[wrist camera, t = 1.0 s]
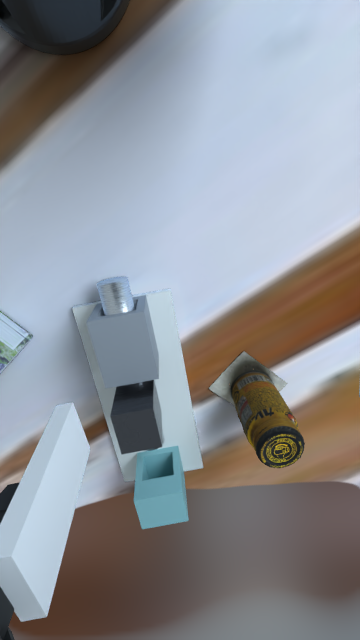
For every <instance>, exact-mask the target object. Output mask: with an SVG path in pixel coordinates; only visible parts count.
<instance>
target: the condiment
mask: <svg viewBox="0 0 360 640" xmlns="http://www.w3.org/2000/svg"><path fill="white" fill-rule="evenodd" d="M253 369H254V370H253ZM229 383H230V388H229ZM286 384H287V383H286V382H285V381H283V380H282V379H281V378H279V377H278V376H277V375H275V374H274V373H273V372H272V371H270V370H269V369H267V368H266V367H265V366H263V365H262V364H260V363H259V362H258V361H256V360H255V359H254V358H252V357H251V356H250V355H248V354H247V353H246V352H243V353H242V354H241V355H240V356H238V357H237V358H236V359H235V361H234V362H233V363H232V364H231V365H230V366H229V367H228V368H227V369H226V370H225V371H224V372H223V373H222V374H221V375H220V377H219V378H218V379H217V380H216V381H215V382H214V383H213V384H212V385H211V386H210V388H209V389H210V390H211V391H213V392H214V393H216V394H217V395H218V396H220V397H222V398H223V399H224V400H226V401H228V402H229V403H231V404H232V405H234V406H235V408H236V411H237V413H238V417H239V419H240V422H241V424H242V427H243V430H244V433H245V435H246V437H247V439H248V441H249V443H250V444H251V445H252V446H253V447H254V449H255V451H256V454H257V456H258V458H259V459H260V461H261V462H262V463H264V464H265V465H267V466H269V467H273V468H283V467H287V466H289V465H291V464H293V463H295V462H296V461H297V460H298V459H299V458H301V455H302V453H303V451H304V444H305V443H304V440H303V437H302V435H301V434H300V432H299V430H298V425H297V421H296V419H295V417H294V416H293V414H292V413H291V411H290V409H289V408H288V406H287V405H286V403H285V401H284V400H283V398H282V396H281V395H280V393H279V391H281V389H283V388H284V387H285V386H286Z"/></svg>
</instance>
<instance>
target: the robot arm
mask: <svg viewBox="0 0 360 640" xmlns="http://www.w3.org/2000/svg"><path fill="white" fill-rule="evenodd" d="M129 1H130V0H0V26H1V27H2V28H3V29H4V30H5V31H7V32H8V33H9V34H10V35H11V36H13V37H14V38H15V39H17V40H18V41H20V42H22V43H23V44H25V45H27V46H29V47H31V48H33V49H36V50H39V51H42V52H46V53H50V54H59V55H65V54H74V53H79V52H82V51H85V50H87V49H90V48H92V47H94V46H95V45H97V44H98V43H100V42H101V41H103V40H104V39H105V38H106V37H107V36H108V35H109V34H110V33H111V32H112V31H113V30H114V29H115V27H116V26H117V25H118V23H119V22H120V20H121V18H122V17H123V15H124V13H125V11H126V9H127V6H128V4H129ZM359 397H360V389H359ZM89 452H90V446H89V444H88V441H87V438H86V436H85V433H84V430H83V428H82V425H81V422H80V420H79V417H78V414H77V412H76V409H75V406H74V404H73V402H71V403H66V404H61V405H56V407H55V409H54V411H53V413H52V415H51V418H50V420H49V422H48V424H47V426H46V428H45V430H44V432H43V435H42V437H41V439H40V441H39V443H38V445H37V447H36V449H35V452H34V454H33V456H32V458H31V460H30V462H29V464H28V466H27V468H26V471H25V473H24V475H23V477H22V479H21V481H20V483H15V484H10V485H7V487H6V488H5V489H4V490H3V491H2V492H1V493H0V640H14V637H13V634H12V632H11V630H10V629H9V627H8V626H9V623H10V620H11V617H12V614H13V611H15V613H16V614H17V616H18V617H19V619H20V621H27V620H32V619H38V618H43V617H47V614H48V611H49V607H50V603H51V599H52V595H53V591H54V587H55V583H56V580H57V576H58V572H59V568H60V564H61V560H62V557H63V552H64V549H65V545H66V541H67V537H68V533H69V529H70V525H71V522H72V518H73V514H74V510H75V506H76V503H77V499H78V495H79V491H80V487H81V483H82V479H83V476H84V472H85V468H86V464H87V460H88V456H89Z"/></svg>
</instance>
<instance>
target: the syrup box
mask: <svg viewBox="0 0 360 640" xmlns="http://www.w3.org/2000/svg"><path fill="white" fill-rule="evenodd" d="M32 337H33V335H32V334H30V333H29V332H28V331H26V330H25V329H23V328H22V327H21V326H19V325H18V324H17V323H15V322H14V321H13V320H11V319H10V318H9V317H7V316H6V315H5V314H3V313H2V312H1V311H0V374H1V373H2V372H3V371H4V369H5V368H6V367H7V366H8V365H9V364H10V363H11V362H12V360H13V359H14V358H15V357H16V356H17V355H18V354H19V353H20V351H21V350H22V349H23V348H24V347H25V346H26V345H27V343H28V342H29V341H30V340H31V339H32Z"/></svg>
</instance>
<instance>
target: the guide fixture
mask: <svg viewBox="0 0 360 640" xmlns="http://www.w3.org/2000/svg"><path fill="white" fill-rule="evenodd" d="M132 298H133V303H134V307H135V310H134V311H128V312H123V313H117V314H112V315H106V316H105V314H104V311H103V307H102V303H101V301H98V302H92V303H87V304H81V305H76V306H73V308H72V310H73V313H74V317H75V320H76V323H77V326H78V330H79V333H80V336H81V340H82V343H83V346H84V349H85V353H86V356H87V359H88V363H89V366H90V369H91V373H92V376H93V379H94V382H95V386H96V389H97V392H98V396H99V399H100V402H101V406H102V409H103V412H104V415H105V419H106V422H107V425H108V429H109V432H110V435H111V438H112V442H113V445H114V448H115V452H116V455H117V458H118V462H119V465H120V468H121V471H122V475H123V478H124V481H125V482H129V481H135V491H134V504H135V507H136V510H137V514H138V516H139V520H140V523H141V527H142V529H146V528H151V527H157V526H163V525H168V524H174V523H179V522H185V521H188V510H187V500H186V489H185V479H184V471H189V470H195V469H200V468H203V463H202V457H201V452H200V447H199V441H198V436H197V430H196V425H195V420H194V414H193V409H192V403H191V398H190V392H189V387H188V382H187V376H186V371H185V365H184V360H183V354H182V349H181V344H180V338H179V333H178V327H177V322H176V316H175V311H174V306H173V300H172V295H171V289H164V290H159V291H153V292H147V293H142V294H136V295H132ZM150 380H155V385H156V389H157V394H158V398H159V402H160V407H161V411H162V429H163V433H164V437H165V441H164V443H163V445H162V447H160V448H158V449H156V450H153V451H145V450H144V451H138V452H133V453H127V454H121V451H120V448H119V444H118V441H117V437H116V434H115V431H114V427H113V424H112V421H111V417H110V415H111V410H112V405H113V401H114V396H115V391H116V387H117V386H123V385H128V384H134V383H139V382H144V381H150Z"/></svg>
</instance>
